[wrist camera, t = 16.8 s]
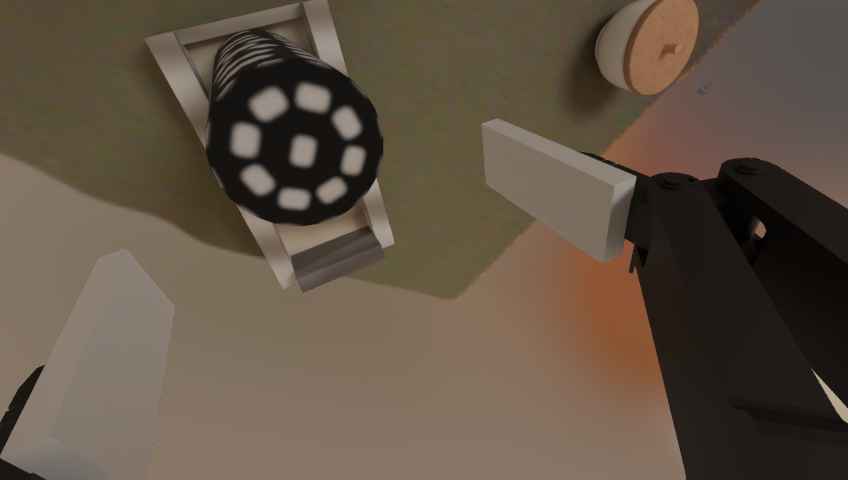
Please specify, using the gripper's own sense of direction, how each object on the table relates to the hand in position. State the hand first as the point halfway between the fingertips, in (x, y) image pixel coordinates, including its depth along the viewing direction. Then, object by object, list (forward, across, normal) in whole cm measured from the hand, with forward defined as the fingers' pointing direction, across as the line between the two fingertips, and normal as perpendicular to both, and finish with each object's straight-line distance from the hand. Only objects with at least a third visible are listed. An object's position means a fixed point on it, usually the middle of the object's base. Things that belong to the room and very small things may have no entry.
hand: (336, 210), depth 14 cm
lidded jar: (+28, +44, -6) cm, 53 cm away
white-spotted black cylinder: (+26, 0, +1) cm, 26 cm away
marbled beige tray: (+28, 0, -7) cm, 29 cm away
